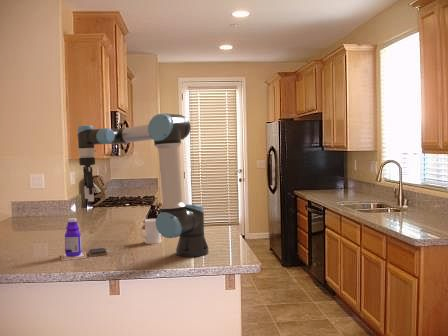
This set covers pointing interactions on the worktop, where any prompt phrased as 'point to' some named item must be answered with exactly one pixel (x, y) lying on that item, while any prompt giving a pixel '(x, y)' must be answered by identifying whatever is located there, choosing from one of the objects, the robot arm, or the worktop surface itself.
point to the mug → (151, 232)
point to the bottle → (72, 238)
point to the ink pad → (97, 252)
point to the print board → (65, 257)
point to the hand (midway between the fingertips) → (89, 200)
